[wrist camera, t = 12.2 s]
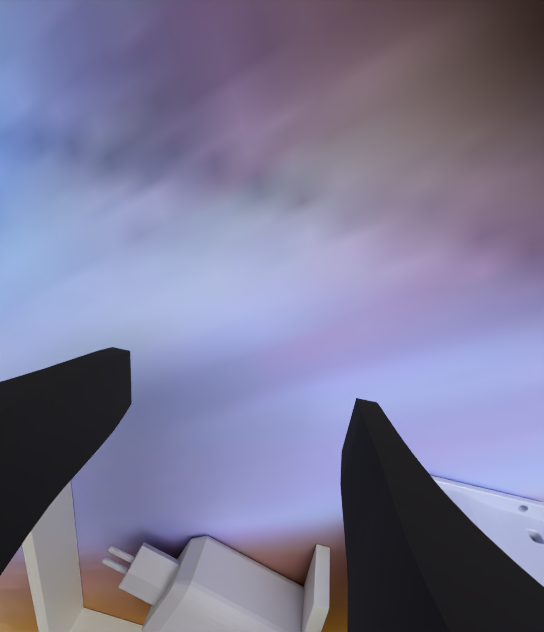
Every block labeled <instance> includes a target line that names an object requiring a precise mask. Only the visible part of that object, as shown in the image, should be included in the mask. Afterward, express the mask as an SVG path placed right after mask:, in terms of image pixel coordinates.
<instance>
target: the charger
mask: <svg viewBox="0 0 544 632" xmlns="http://www.w3.org/2000/svg"><path fill="white" fill-rule="evenodd" d="M108 551H109V552H110V553H112V554H114V555H116V556H118V557H120V558H122V559H124V560H126V561H127V562H129V563H131V565H130V567H129V568H126V567H125V566H123V565H121V564H119V563H117V562H115V561H113V560H111V559H109V558H107V557H104V559H103V560H102V563H103V564H105V565H107V566H109V567H111V568H113V569H115V570H117V571H118V572H120V573H122V574H124V575H125V576H124V577H123V579H122V581H121V583H120V585H119V588H120V589H122V590H124V591H126V592H128V593H130V594H132V595H134V596H136V597H138V598H140V599H142V600H144V601H145V602H147V603H149V604H151V605H152V606H151V608H150V611H149V613H148V615H147V618H146V620H145V622H144V625H143V627H142V632H301V627H302V613H303V599H304V588H303V586H301V585H299V584H297V583H295V582H294V581H292V580H290V579H288V578H286V577H284V576H282V575H280V574H279V573H277V572H275V571H273V570H271V569H269V568H267V567H265V566H264V565H262V564H260V563H258V562H256V561H254V560H252V559H250V558H249V557H247V556H245V555H243V554H241V553H239V552H237V551H235V550H233V549H232V548H230V547H228V546H226V545H224V544H222V543H220V542H218V541H217V540H215V539H213V538H211V537H209V536H202V537H197V538H193V539H191V540H190V541H189V542H188V544H187V545H186V547H185V548H184V550H183V551H182V553H181V554H180V556H179V557H178V559H175V558H173V557H171V556H170V555H168V554H166V553H164V552H162V551H160V550H158V549H156V548H154V547H152V546H151V545H149V544H147V543H145V542H144V543H143V544H142V546H141V547H140V549H139V551H138V553H137V554H136V556H135V557H134V556H132V555H130V554H128V553H126V552H124V551H122V550H120V549H119V548H117V547H115V546H113V545H111V546H110V547H109V549H108Z"/></svg>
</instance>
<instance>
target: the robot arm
mask: <svg viewBox="0 0 544 632" xmlns="http://www.w3.org/2000/svg"><path fill="white" fill-rule="evenodd" d="M130 405H131V366H130V351H128V350H123V349H118V348H114V347H111V348H107V349H103V350H100V351H96V352H93V353H90V354H87V355H84V356H81V357H78V358H75V359H72V360H69V361H66V362H63V363H60V364H57V365H54V366H51V367H48V368H45V369H42V370H38V371H35V372H32V373H28V374H25V375H22V376H19V377H15V378H12V379H9V380H5V381H2V382H0V575H1V574H2V572H3V571H4V569H5V568H6V566H7V565H8V563H9V562H10V561H11V559H12V558H13V556H14V555H15V553H16V552H17V550H18V549H19V547H20V546H21V545H22V543H23V542H24V540H25V539H26V537H27V536H28V535H29V533H30V532H31V530H32V529H33V528H34V526H35V525H36V524H37V522H38V521H39V519H40V518H41V517H42V515H43V514H44V513H45V511H46V510H47V508H48V507H49V506H50V504H51V503H52V502H53V501H54V499H55V498H56V497H57V496H58V495H59V493H60V492H61V491H62V490H63V489H64V487H65V486H66V485H67V484H68V483H69V482H70V481H71V479H72V478H73V477H74V476H75V475H76V474H77V473H78V471H79V470H80V469H81V468H82V467H83V466H84V465H85V463H86V462H87V461H88V460H89V459H90V458H91V457H92V455H93V454H94V453H95V452H96V451H97V450H98V449H99V447H100V446H101V445H102V444H103V443H104V442H105V440H106V439H107V438H108V437H109V436H110V435H111V433H112V432H113V431H114V430H115V428H116V427H117V425H118V424H119V422H120V421H121V419H122V418H123V416H124V415H125V413H126V412H127V410H128V408H129V407H130ZM341 496H342V509H343V521H344V533H345V545H346V557H347V573H348V632H544V503H542V502H539V501H535V500H531V499H526V498H522V497H518V496H514V495H510V494H505V493H501V492H497V491H493V490H489V489H485V488H480V487H476V486H472V485H468V484H464V483H459V482H455V481H451V480H447V479H443V478H439V477H434V476H430V474H429V473H428V472H427V471H426V470H425V468H424V467H423V466H422V465H421V463H420V462H419V461H418V460H417V458H416V457H415V456H414V454H413V453H412V452H411V450H410V449H409V448H408V446H407V445H406V444H405V442H404V441H403V440H402V438H401V437H400V435H399V434H398V432H397V431H396V430H395V428H394V427H393V425H392V424H391V422H390V421H389V419H388V418H387V416H386V415H385V413H384V412H383V410H382V409H381V407H380V406H379V405H378V403H377V402H372V401H367V400H362V399H358V398H356V401H355V405H354V409H353V412H352V416H351V420H350V423H349V427H348V431H347V434H346V438H345V442H344V445H343V449H342V459H341ZM522 505H523V506H522Z"/></svg>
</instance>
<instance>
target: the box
mask: <svg viewBox="0 0 544 632" xmlns="http://www.w3.org/2000/svg"><path fill="white" fill-rule="evenodd" d="M22 547H23V552H24V557H25V563H26V568H27V573H28V578H29V583H30V588H31V594H32V599H33V604H34V609H35V614H36V619H37V625H38V630H39V632H142V627H143V625H139V624H136V623H133V622H129V621H126V620H123V619H120V618H116V617H113V616H110V615H107V614H103V613H100V612H97V611H93V610H90V609H87V608H84V606H83V596H82V586H81V576H80V567H79V557H78V547H77V537H76V527H75V517H74V507H73V497H72V487H71V481H70V482H69V483H68V484H67V485H66V486H65V487H64V489H63V490H62V491H61V492H60V493H59V495H58V496H57V497H56V498H55V499H54V501H53V502H52V503H51V504H50V506H49V507H48V508H47V510H46V511H45V513H44V514H43V515H42V517H41V518H40V519H39V521H38V522H37V524H36V525H35V526H34V528H33V529H32V530H31V532H30V533H29V535H28V536H27V537H26V539H25V540H24V542H23V543H22ZM329 578H330V548H329V547H326V546H322V545H318V544H316V548H315V551H314V554H313V558H312V561H311V564H310V568H309V571H308V575H307V578H306V581H305V585H304V599H303V613H302V627H301V632H321V630H322V628H323V625H324V622H325V619H326V616H327V614H328V611H329Z"/></svg>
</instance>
